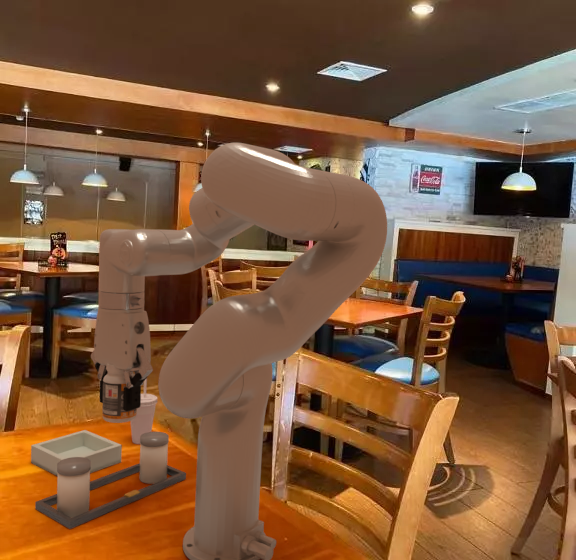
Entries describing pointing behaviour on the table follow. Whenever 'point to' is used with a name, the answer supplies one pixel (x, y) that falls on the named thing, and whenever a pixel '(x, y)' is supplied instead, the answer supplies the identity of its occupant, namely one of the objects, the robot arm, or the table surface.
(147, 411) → the smoothie
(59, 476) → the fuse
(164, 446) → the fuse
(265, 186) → the robot arm
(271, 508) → the table surface
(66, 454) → the tray
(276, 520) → the table surface
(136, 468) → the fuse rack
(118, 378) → the pill bottle
